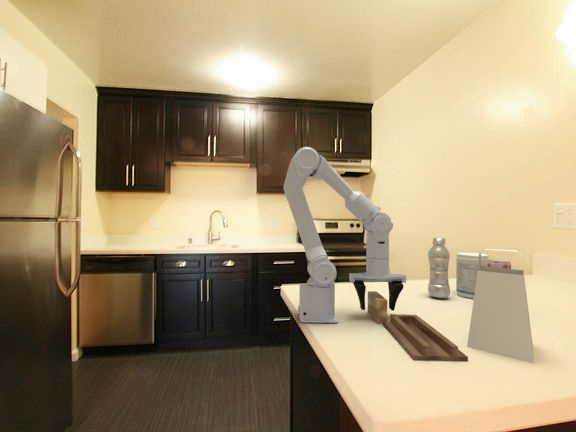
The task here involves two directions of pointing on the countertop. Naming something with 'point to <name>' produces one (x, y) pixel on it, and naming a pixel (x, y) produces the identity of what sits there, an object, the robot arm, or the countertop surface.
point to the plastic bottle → (439, 269)
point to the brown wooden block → (377, 307)
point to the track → (422, 339)
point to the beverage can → (499, 263)
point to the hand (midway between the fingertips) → (377, 309)
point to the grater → (501, 313)
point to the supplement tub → (468, 272)
